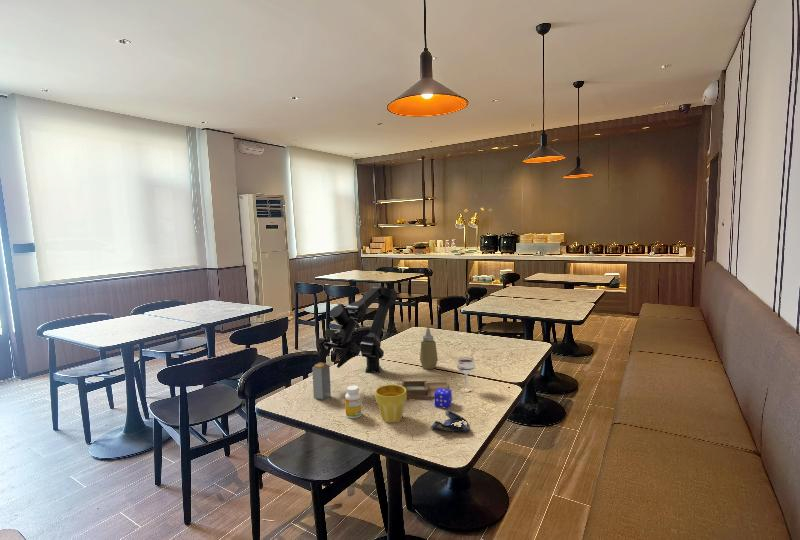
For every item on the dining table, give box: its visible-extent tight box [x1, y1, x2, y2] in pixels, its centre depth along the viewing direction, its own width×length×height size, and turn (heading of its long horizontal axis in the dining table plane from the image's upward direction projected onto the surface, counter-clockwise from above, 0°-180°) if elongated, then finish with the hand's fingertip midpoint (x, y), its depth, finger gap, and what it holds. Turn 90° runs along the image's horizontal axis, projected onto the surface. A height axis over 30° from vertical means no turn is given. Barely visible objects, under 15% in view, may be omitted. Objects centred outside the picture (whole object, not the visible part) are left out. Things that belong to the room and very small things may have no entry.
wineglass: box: [456, 356, 476, 389], centre depth 161 cm, size 7×7×12 cm
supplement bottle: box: [344, 385, 363, 419], centre depth 142 cm, size 5×5×10 cm
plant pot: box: [374, 384, 407, 423], centre depth 139 cm, size 10×10×10 cm
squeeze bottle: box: [419, 327, 439, 370], centre depth 188 cm, size 8×8×18 cm
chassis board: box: [396, 380, 449, 401], centre depth 161 cm, size 14×20×3 cm
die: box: [433, 388, 453, 409], centre depth 149 cm, size 5×5×5 cm
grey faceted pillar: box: [311, 362, 331, 401], centre depth 158 cm, size 4×4×13 cm
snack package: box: [429, 409, 471, 433], centre depth 131 cm, size 12×6×12 cm
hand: (328, 365), depth 161 cm, fingers open, 9 cm apart
